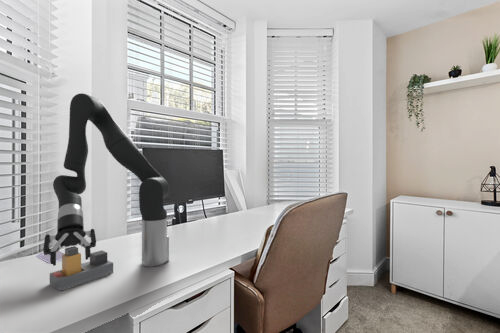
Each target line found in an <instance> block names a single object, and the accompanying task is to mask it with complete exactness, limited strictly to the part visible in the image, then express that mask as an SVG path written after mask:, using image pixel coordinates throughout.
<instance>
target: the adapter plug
mask: <svg viewBox="0 0 500 333" xmlns="http://www.w3.org/2000/svg"><path fill="white" fill-rule="evenodd" d="M81 264H82V253H80V252H79V247H78V246H76V245H75V246H68V247H65V248H64V254H63V255H62V261H61V270H62V276H64V277H66V276H69V275H72V274H75V273H79V272H81Z"/></svg>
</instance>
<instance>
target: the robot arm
mask: <svg viewBox="0 0 500 333" xmlns="http://www.w3.org/2000/svg"><path fill="white" fill-rule="evenodd" d="M68 121H69V123H68V124H69V126H68V142H67V148H66V152H65V156H64V162H63V168H64V169H65V170H69V171H72V172H74V173H76V176H73V175H57V176H56V177H55V178H54V180H53V181H52V182H53V183H52V189H53V190H54V193H55V195H56V198H57V201H58V212H57V219H56V220H57V221H56V222H57V226H56V228H57V230H56V234H55V235H50V234H46V235H45V236H44V242H43V249H42V250H43V253H44V255H47V254H49V255H50V263H49V264H50V265H52V266H57V262H56V253H57V252H58V251H60V250H62V248H63V247H65V248H69V247H74V246H75V247H76V246H77V245H79V246H81V247H82V248H84V254H85V255H84V257H85V258H84V260H85V261H87V260H89V259H90V255H91V253H92V252H91V249H92V248H95V247H96V246H97V238H96V231H95V229H94V228H91V229H90V230H87V231H86V230H85V229H84V228H85V227H84V224H85V223H84V211H83V206H82V204H83V203H82V202H83V201H82V197H81V194H83V193H84V192H85V191H86V188H87V181H86V165H87V159H88V155H89V145H88V141H87V134H86V132H87V129H86V128H87V124H88V121H89V122H91V123H92V124H93V125H94V126H95V127H96V128H97V129H98V131H99V132H100V133H101V135H102V139H103V143H104V145H105V148H106V149H107V150H108V152H109V153H110V154H111V156H112V157H113V158H114V159H115V161H116V162H118V163H119V164H120V165H121V166H123V167H124V168H125V169H126V170H128V171H130V172H131V173H133V175H135V177H137V178H138V179H139V181H140V182H141V183H140V185H139V188H138V189H139V190H138V200H139V204H138V206H139V213H140V214H141V215H140V216H141V265H142V266H144V267H158V266H162V265H164V264H165V263H166V262H167V261H169V260H170V236H168V212H167V210H166V209H165V207H164V199H165V198H167V197H168V196H169V194H170V185H169V183H168V181H167V180H166V179H165V178H164V176H162V175H161V173H159V172H158V171H157V170H156V169H155V168H154V167H153V165H152V164H150V162H149V161H148V159H147V158H146V157H145V155H144V154H143V153H142V152H141V150H139V148H138V146H137V145H136V144H135V142H133V140H132V139H131V138H130V136H128V135H127V133H126V132H125V131H124V130H123V129H122V128H121V126H120V125H119V124H118V123H117V122H116V121H115V120H114V118H113V117H112V115H111V113H110V112H109V110H108V108H107V107H106V106H105V104H104V103H103V101H101V100H100V99H99V98H96V97H93V96H92V95H89V94H87V93H78V94H75V95H74V96H73V97H72V98H71V100H70V105H69V120H68ZM86 236H87V237H88V238H90V242H89V241H87V240H86V238H85V237H86ZM54 240H55V241H56V242H55V244H54V246H52V247H51V248H50V244H51V243H53V241H54Z"/></svg>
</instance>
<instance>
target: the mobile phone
mask: <svg viewBox="0 0 500 333" xmlns="http://www.w3.org/2000/svg"><path fill="white" fill-rule="evenodd" d="M63 254H65V252H62V251H60V250H59V251H58V252H57V253H56V261H58V262H60V260H62V255H63ZM36 257H37V258H39V259H41V260H42V261H44V262H45V261H46V263H47V262H48V263H47V264H51V263H50V255H49V254H47V255H44V252H43V253H42V252H41V253H39V254H36Z"/></svg>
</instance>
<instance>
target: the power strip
mask: <svg viewBox="0 0 500 333" xmlns="http://www.w3.org/2000/svg"><path fill="white" fill-rule="evenodd" d="M110 274H114V262H113V261H109V260H108V251H104V250H98V251H95V252H91V255H90V257H89V261H87V262H84V263H83V262H82V263H81V272H79V273H75V274H72V275H69V276H66V277H64V276H62V269H60V270H56V271H52V272H50V273H49V285H51V287H52V288H54V289H56V290H58V291H59V290H60V292H61V290H62V291H64V289H65V290H67V288H68V289H70V288H73V287H76V286H78V284H79V285H81V283H82V284H84V283H87V282H89V281H93V280H96V279H100V278H102V277H105V276H107V275H110ZM75 285H76V286H75ZM72 286H73V287H72Z"/></svg>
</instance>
